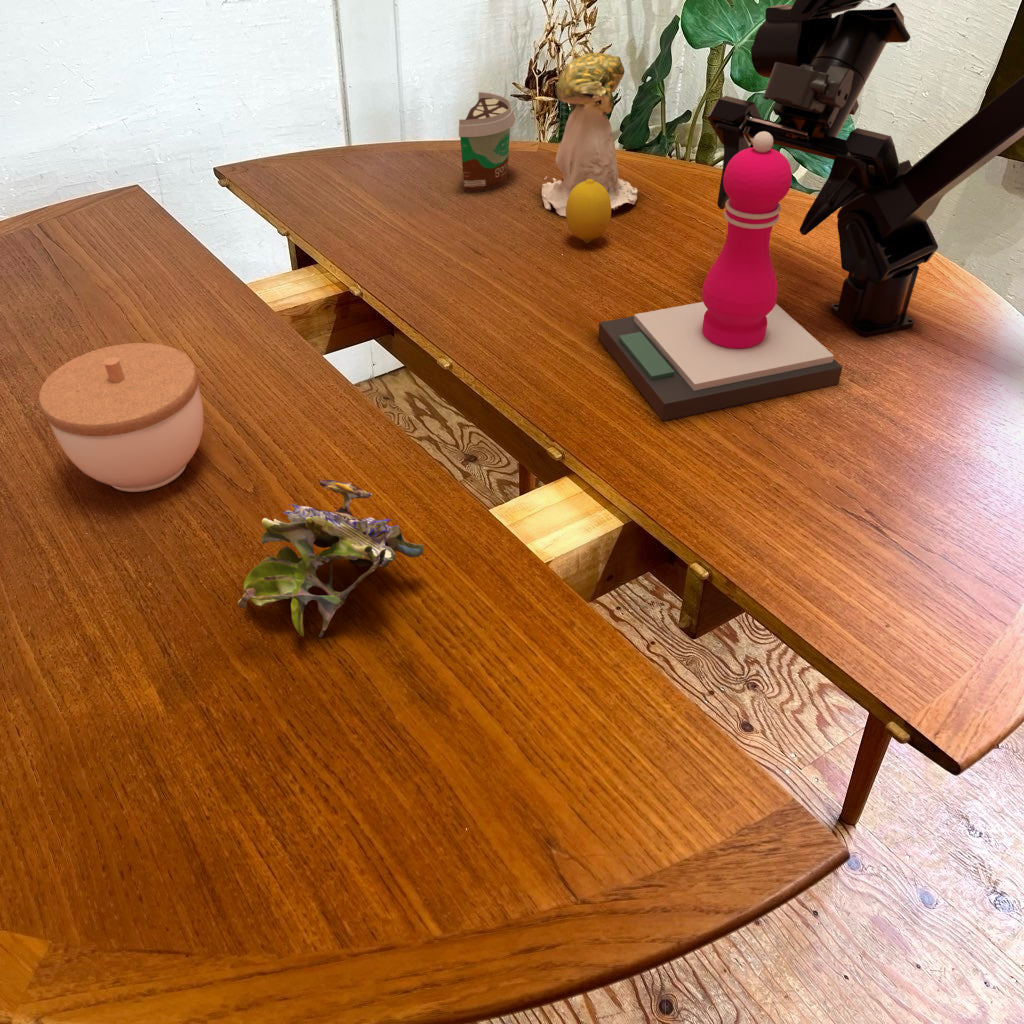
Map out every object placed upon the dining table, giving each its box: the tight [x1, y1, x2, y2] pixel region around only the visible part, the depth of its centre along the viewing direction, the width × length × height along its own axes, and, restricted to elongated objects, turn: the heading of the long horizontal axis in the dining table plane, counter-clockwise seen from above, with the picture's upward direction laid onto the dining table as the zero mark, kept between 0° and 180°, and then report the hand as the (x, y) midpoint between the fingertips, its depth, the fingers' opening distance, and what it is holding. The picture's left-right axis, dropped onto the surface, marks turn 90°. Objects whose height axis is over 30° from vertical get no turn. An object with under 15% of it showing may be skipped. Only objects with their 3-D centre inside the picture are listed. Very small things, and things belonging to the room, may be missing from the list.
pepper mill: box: [701, 131, 793, 349], centre depth 90 cm, size 7×7×20 cm
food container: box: [458, 91, 516, 193], centre depth 132 cm, size 12×6×10 cm, turn 168°
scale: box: [598, 301, 843, 422], centre depth 97 cm, size 19×16×3 cm
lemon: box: [565, 179, 612, 244], centre depth 117 cm, size 6×6×8 cm
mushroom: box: [541, 52, 639, 218], centre depth 123 cm, size 12×13×18 cm
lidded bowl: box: [38, 342, 205, 493], centre depth 82 cm, size 13×13×11 cm
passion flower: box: [237, 479, 425, 638], centre depth 71 cm, size 11×11×12 cm
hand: (759, 220), depth 95 cm, fingers open, 9 cm apart
